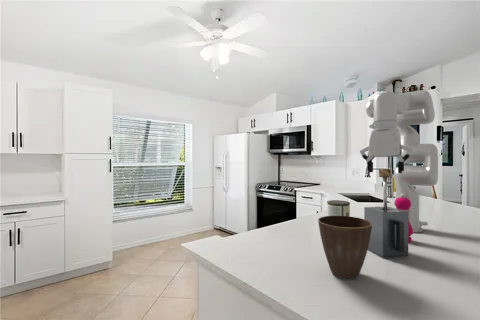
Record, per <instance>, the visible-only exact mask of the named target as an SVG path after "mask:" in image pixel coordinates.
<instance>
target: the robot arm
mask: <svg viewBox="0 0 480 320" xmlns="http://www.w3.org/2000/svg"><path fill="white" fill-rule="evenodd" d="M365 113H366V115H367V116H368V117H369V118H370V119H373V122H372V124H370V125H369V129H372V130H370V134H369V141H368V146H367V147H364V148H363V149H360V150H359V153H360V155H361V156H362V157H361V158H363V159H364V160H365V161H366V162H367V163H366V165H367V166H366V167H367V168H366V171H368V173H374V162H373V160H374V159H375V158H392V157H393V158H396V159H397V160H398V162H397V166H396V167H395V168H394V170H393V178H394V183H395V200H396V199H397V198H399V197H400V195H401V194H404V195H405V197H404V198H407V199H409V200H410V202H411V207H410V208H409V210H410V211H409V212H410V213H409V214H408V218H409V222H410V224H411V226H412V229H413V234H417V233H423V232H424V228H423V227H424V226H428V224H429V223H428V221H421V220H420V194H419V192H418V191H417V189H416V188H415V187H414V186H422V187H423V186H425V187H434V186H435V185H437V184H438V182H439V150H438V148H437V146H436V144H433V143H420V134H419V133H418V131H417V130H416V129H415V128H413V127H412V126H417V125H420V126H421V125H427V124H431V123H432V122H434V120H435V117H436V112H435V107H434V103H433V98H432V95H431V94H430V92H429V91H428V90H426V89H423V90H422V89H421V90H420V89H419V90H415V91H408V92H402V93H401V92H400V93H395V92H393V91H386V92H380V93H376V95H374V96H373V99H370V100H369V101H367V102H366V106H365ZM367 152H368V156H367ZM405 164H425V165H405ZM395 208H397V207H396V206H395Z"/></svg>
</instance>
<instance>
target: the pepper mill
mask: <svg viewBox="0 0 480 320" xmlns="http://www.w3.org/2000/svg"><path fill="white" fill-rule="evenodd" d="M404 197H405V195H404V194H401V195H400V197H399V198H397V199H396V198H395V200H394V202H393V203H394V206H395V208H396V207H397V208H396V209H400V210H404V211H408V214H409V213H410V212H409V211H410V210H409V208H410V207H411V202H410V200H409V199H407V198H404ZM413 234H414V233H413V229H412V226H411V224H410V222H409V218H408V244H410V243H412V241H413V239H412V238H413V237H411V236H412V235H413Z"/></svg>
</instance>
